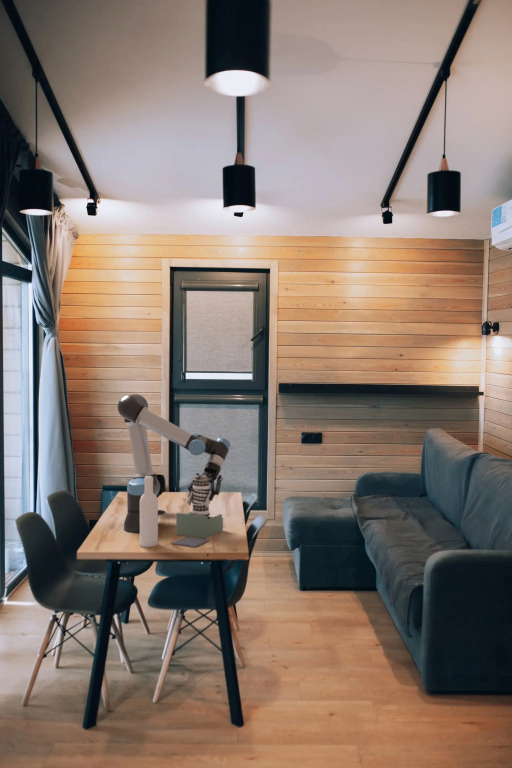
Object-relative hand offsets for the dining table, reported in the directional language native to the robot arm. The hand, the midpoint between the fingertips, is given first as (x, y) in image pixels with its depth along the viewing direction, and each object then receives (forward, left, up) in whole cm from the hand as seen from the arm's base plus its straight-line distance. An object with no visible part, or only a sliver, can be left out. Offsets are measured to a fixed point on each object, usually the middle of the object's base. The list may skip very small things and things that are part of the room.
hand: (197, 504), depth 297 cm
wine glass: (-42, +29, -14) cm, 53 cm away
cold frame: (0, +3, -14) cm, 14 cm away
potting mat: (+5, -14, -14) cm, 20 cm away
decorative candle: (0, +3, -12) cm, 12 cm away
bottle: (-10, -25, -14) cm, 30 cm away
